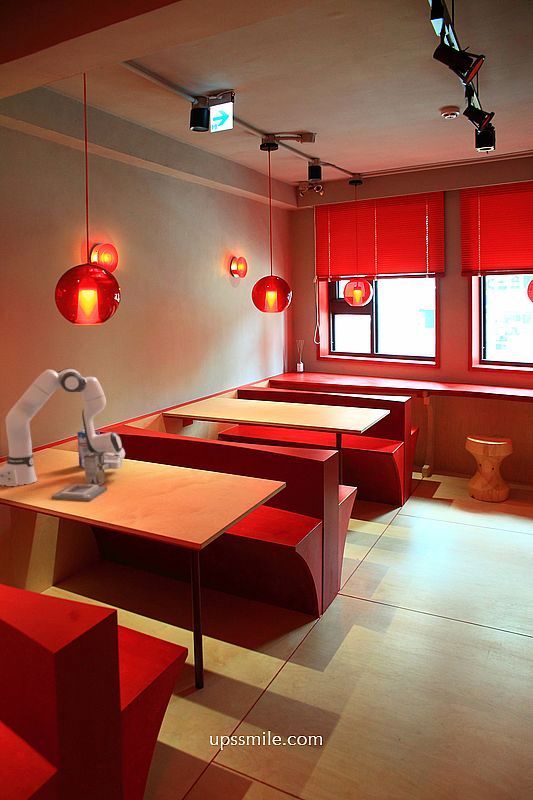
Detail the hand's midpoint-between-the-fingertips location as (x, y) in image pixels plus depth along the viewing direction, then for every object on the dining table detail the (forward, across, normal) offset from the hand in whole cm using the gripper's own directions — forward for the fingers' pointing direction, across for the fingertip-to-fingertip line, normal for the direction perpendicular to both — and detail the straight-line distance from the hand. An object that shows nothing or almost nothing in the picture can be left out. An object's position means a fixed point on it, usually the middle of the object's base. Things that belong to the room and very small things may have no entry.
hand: (94, 467), depth 313 cm
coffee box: (0, 0, +9) cm, 9 cm away
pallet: (+16, 0, +9) cm, 18 cm away
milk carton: (-33, -20, +9) cm, 40 cm away
